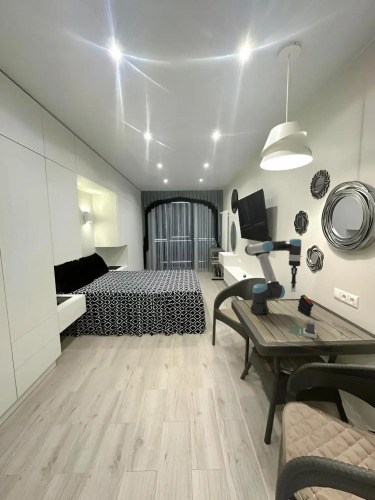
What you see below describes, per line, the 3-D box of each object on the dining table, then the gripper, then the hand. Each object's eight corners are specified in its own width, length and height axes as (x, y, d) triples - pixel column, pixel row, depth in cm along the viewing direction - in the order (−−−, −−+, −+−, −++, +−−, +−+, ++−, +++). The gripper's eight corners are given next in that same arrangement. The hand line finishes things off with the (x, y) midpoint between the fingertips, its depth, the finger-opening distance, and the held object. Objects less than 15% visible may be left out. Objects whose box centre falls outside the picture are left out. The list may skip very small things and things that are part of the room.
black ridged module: (298, 307, 176) (305, 294, 168) (308, 319, 165) (315, 306, 157) (294, 307, 175) (301, 294, 167) (304, 319, 164) (311, 306, 156)
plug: (306, 335, 131) (306, 323, 130) (306, 332, 135) (306, 320, 134) (314, 336, 129) (315, 324, 128) (313, 333, 133) (314, 322, 132)
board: (289, 334, 134) (289, 329, 134) (289, 326, 145) (290, 322, 144) (317, 340, 127) (317, 335, 126) (315, 332, 137) (316, 327, 137)
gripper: (300, 261, 138) (298, 295, 140) (300, 259, 149) (299, 289, 152) (288, 261, 141) (287, 293, 144) (289, 258, 153) (288, 288, 155)
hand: (293, 291), depth 148 cm, fingers closed
